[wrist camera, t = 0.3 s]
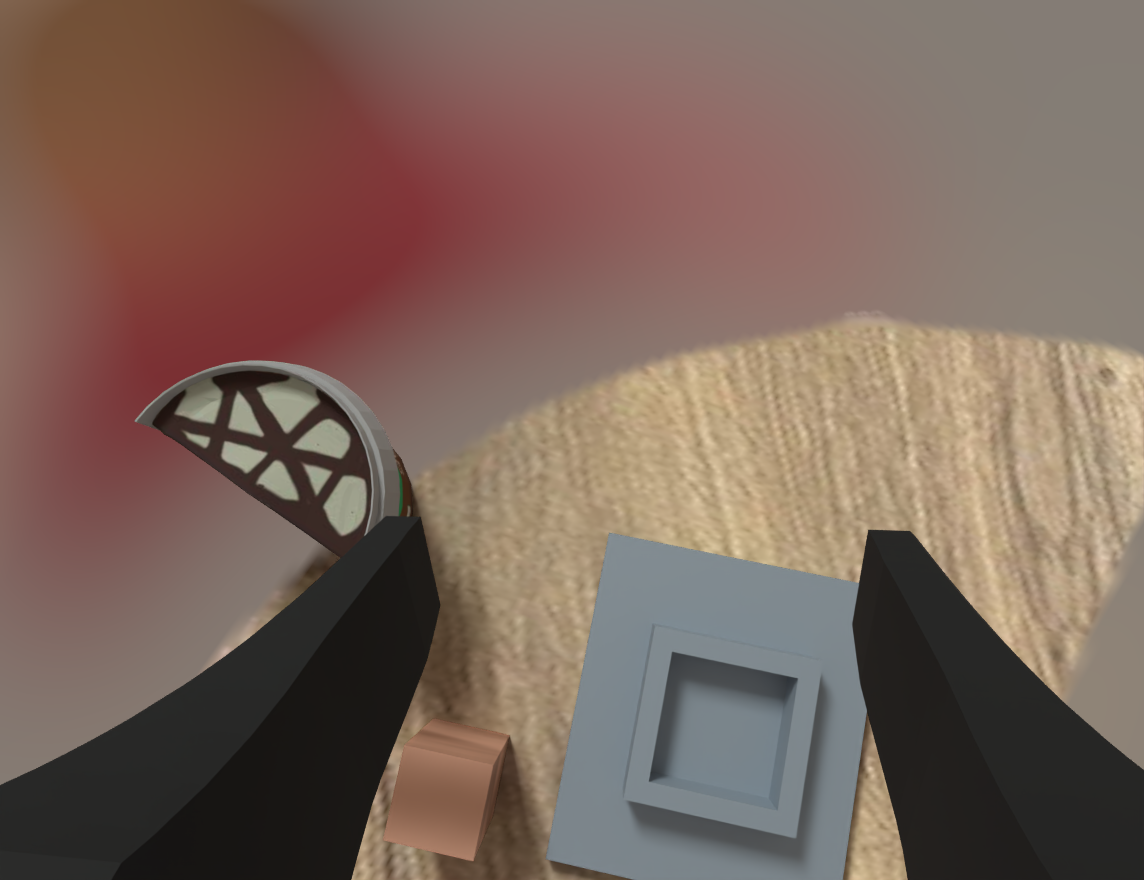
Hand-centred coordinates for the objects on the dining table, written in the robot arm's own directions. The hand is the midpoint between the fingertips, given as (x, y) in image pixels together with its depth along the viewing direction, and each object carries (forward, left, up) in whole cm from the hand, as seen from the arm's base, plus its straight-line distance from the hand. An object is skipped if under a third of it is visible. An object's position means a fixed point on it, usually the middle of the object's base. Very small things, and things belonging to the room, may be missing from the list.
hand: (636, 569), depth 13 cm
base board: (-6, -6, -29) cm, 30 cm away
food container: (+3, +15, -29) cm, 33 cm away
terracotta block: (-11, +6, -29) cm, 32 cm away
